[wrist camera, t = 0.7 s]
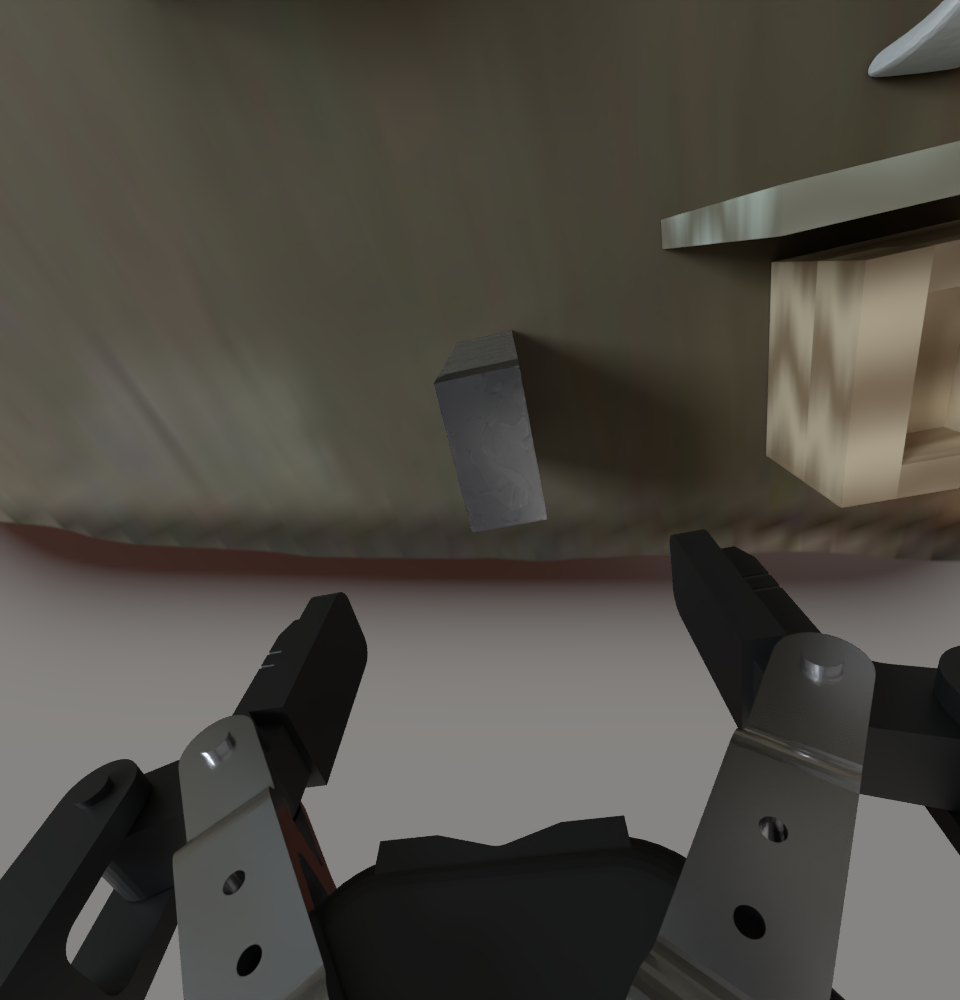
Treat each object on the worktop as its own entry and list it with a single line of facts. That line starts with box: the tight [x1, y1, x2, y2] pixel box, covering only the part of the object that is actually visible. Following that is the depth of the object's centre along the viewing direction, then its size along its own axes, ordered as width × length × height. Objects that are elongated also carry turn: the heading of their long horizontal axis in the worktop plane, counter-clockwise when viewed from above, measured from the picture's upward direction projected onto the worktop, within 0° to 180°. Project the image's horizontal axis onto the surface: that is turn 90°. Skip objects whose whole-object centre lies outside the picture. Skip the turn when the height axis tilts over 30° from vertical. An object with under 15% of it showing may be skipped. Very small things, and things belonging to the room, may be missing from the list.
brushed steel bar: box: [434, 330, 547, 532], centre depth 26 cm, size 7×4×12 cm, turn 12°
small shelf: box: [661, 141, 960, 508], centre depth 23 cm, size 16×22×13 cm
